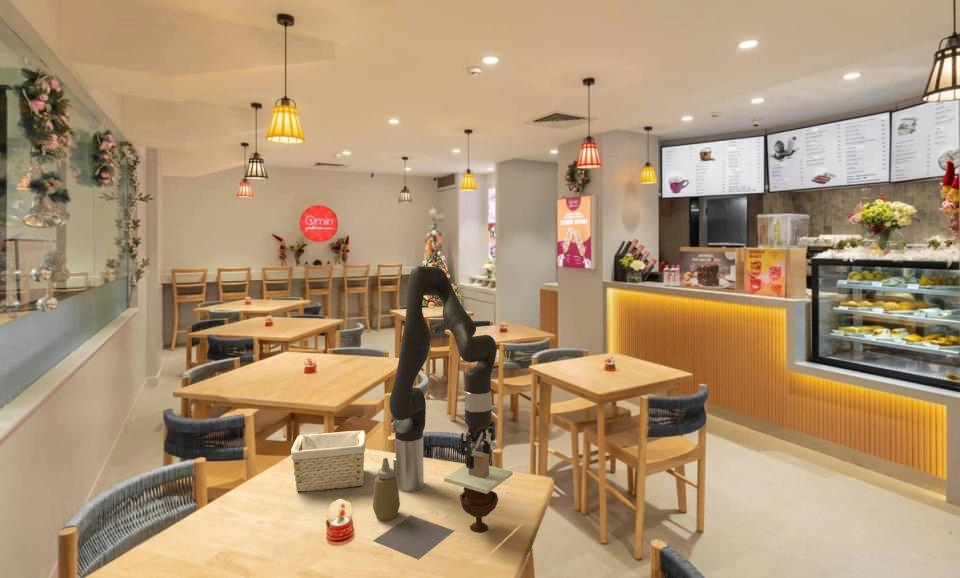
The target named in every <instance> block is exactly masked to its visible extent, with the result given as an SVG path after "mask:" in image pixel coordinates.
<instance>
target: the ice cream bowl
mask: <svg viewBox="0 0 960 578" xmlns="http://www.w3.org/2000/svg"><path fill="white" fill-rule="evenodd" d="M459 498H460V505H461V507H462V509H463V511H464V512H465V513H466V514H468V515H470V516H471V517H473V518H475V522H473V523H472V524H471V525H469V529H470V531H471V532H473V533H479V534H480V533H481V534H482V533H485V532H487V530H489V526H488V524H487V523H485V522H483V517H487V516H488V515H490V513H492V511H493V510H494V509H496V507H497V505H498V501H499V497H498V493H497V492H495V491H494V490H491V491H490V492H489V493H487V494H486V493H482V492H479V491H475V490H472V489H468V488H465V487H463V492H462V493H461V494H460V495H459Z"/></svg>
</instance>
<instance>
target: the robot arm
mask: <svg viewBox="0 0 960 578" xmlns="http://www.w3.org/2000/svg"><path fill="white" fill-rule="evenodd" d="M407 282H408V283H407V296H406V297H407V298H406V309H405V319H404V325H403V331H402V337H401V343H400V347H399V348H400V351H399V358H398V363H397V369H396V373H395V374H396V375H395V377H394V378H395V379H394V381H393V387H392V390H391V394H390V397H389V412H390V414H391V416H392V418H394V419H396V420H397V421H400V424H399V425H398V426H397V427H396V428H395V431H394V441H395V442H394V444H395V446H394V447H395V449H394V450H395V457H394V458H393V459H392V461H393V463H392V465H393V467H392V468H393V470H394V476H396V477H397V484H398V491H400V492H407V493H411V492H417V491H419V490H421V489H423V487H424V484H425V482H424V478H425V477H424V475H425V474H424V473H425V472H424V468H425V467H424V430H425V427H426V418H427V417H426V415H427V404H426V403H427V402H426V398H425V394H424V392H423V391H422V390H421V389H420V388H418V387H414V383H415V381H416V379H417V377H418V375H419V373H420V372H421V370H422V368H423V366H424V365H425V363H426V361H427V359H428V356H429V354H430V349H431V347H430V346H431V342H432V336H431V335H432V334H431V333H432V332H431V331H430V327H429V325H428V323H427V320H426V319H425V316H424V313H423V304H424V303H423V302H424V297H425V296H427V297H429V296H430V297H431V296H433V297H434V296H436V297H438V298H439V300H441V302H442V304H443V306H442V319H443V322H444V324H445V326H446V327H447V328H448V330H449V331H450V333H451V334H452V335H453V338H454V341H455V343H456V347H457V351H458V354H459V356H460V358H461V359H462V360H463V361H465V362H466V363H476V365H475V366H474V367H472V368H471V369H469V370H467V371H466V373H465V396H464V423H465V425H467V426H468V429H467V432H461V434H460V455H463V456H465V465H466V467H467V468H469V469H473V468H474V453H475V451H477V450H476V449H478V448H479V445H480V444H481V443H482V452H483V453H487V454H489V459H490V458H491V452H492V451H491V446H492V444H493V442H495V440H496V431H495V430H496V427H495V426H496V425H495V423H496V422H495V420H492V419H493V418H492V417H493V414H492V413H493V411H492V406H493V405H492V404H493V403H492V402H493V400H492V399H493V398H492V388H491V387H492V385H491V384H492V383H491V377H492V372H493V369H494V366H495V361H496V359H497V358H496V357H497V353H498V349H497V348H498V347H497V342H496V340H495V339H494V337H493V336H491V335H489V334H483V335H475V334H476V332H477V325H476V323H475V322H474V320H473V319H472V317H470V315H469V314H468V313H467V311H466V310H465V309H464V306H462V304H461V302H460V301H459V298H458V296H457V293H456V292H455V290H454V288H453V286H452V284H451V281H450V279H449V277H448V275H447V274H446V272H445V271H444V270H443V269H442V268H441V267H438V266H428V265H427V266H425V265H424V266H423V265H416V266H414V267H413V268H412V269H411V270H410V273H409V276H408V281H407ZM490 434H491V435H490Z"/></svg>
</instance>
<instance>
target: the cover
mask: <svg viewBox="0 0 960 578" xmlns="http://www.w3.org/2000/svg"><path fill="white" fill-rule="evenodd" d="M511 476H512V477H513V471H512V470H508V469H504V468H501V467H497V466H493V465H490V458H489V454H487V453H483V451H478V450H475V453H474V468H473V469H469V468H467V467H466V464H465V465H464V466H462V467H460V468H458V469H457V470H455V471H453V472H451V473H449V474H448V475H447V476H445V477H444V478H443V482H445V483H448V484H452V485H455V486H459V487H462V488H464V487H465V488H468V489H472V490H475V491H479V492H482V493H486V494H487V493H489V492H490V491H491V490H492V491H494V489H496V488H497V487H498V486H499V485H501V484H502V483H503V482H505V481H506V480H508V479H509V478H511Z"/></svg>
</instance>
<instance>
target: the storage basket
mask: <svg viewBox="0 0 960 578" xmlns="http://www.w3.org/2000/svg"><path fill="white" fill-rule="evenodd" d="M366 442H367V435H366V431H365V430H362V429H361V430H350V431H349V430H348V431H339V432H326V433H324V432H323V433H309V434H299V435H297V437H296V439H295V441H294V443H293V445H292V447H291V451H290V454H291V457H290V458H291V460H292V462H293V470H294V471H293V475H294V481H295V488H296V492H297V491H308V492H315V491H325V490H333V489H334V490H335V488H337V489H342V488H344V489H345V488H350V487H351V488H352V487H353V488H354V487H360V486H362V485H363V484H364V475H365V474H364V473H365V471H364V470H365V468H364V467H365V466H364V463H365V451H366ZM324 489H325V490H324Z"/></svg>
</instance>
